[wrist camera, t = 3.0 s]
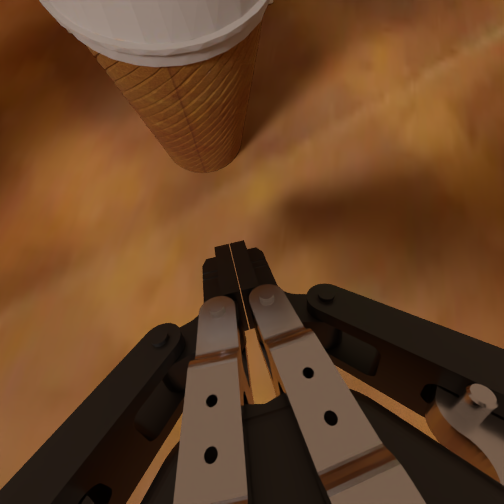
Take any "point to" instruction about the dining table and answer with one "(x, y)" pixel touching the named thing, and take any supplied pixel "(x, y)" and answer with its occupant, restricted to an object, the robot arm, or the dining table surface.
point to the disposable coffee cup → (176, 66)
